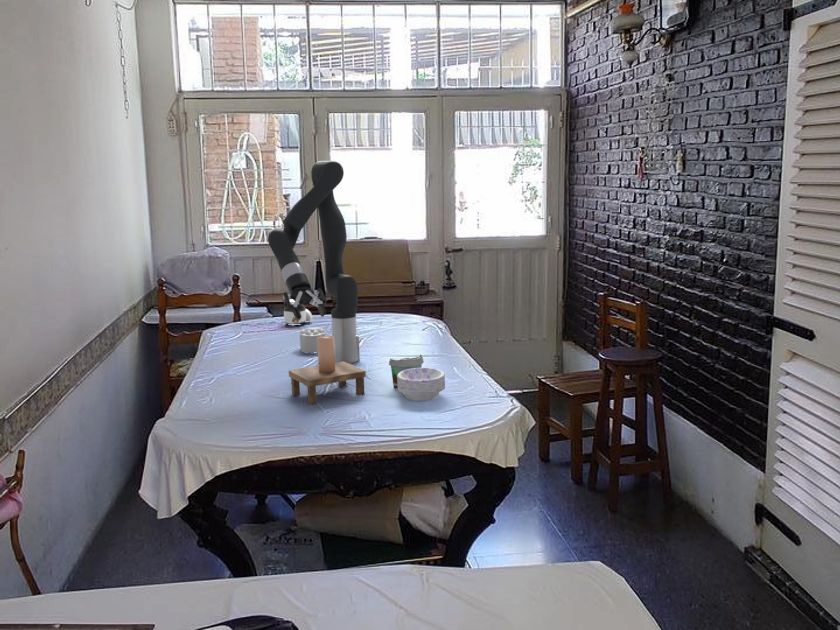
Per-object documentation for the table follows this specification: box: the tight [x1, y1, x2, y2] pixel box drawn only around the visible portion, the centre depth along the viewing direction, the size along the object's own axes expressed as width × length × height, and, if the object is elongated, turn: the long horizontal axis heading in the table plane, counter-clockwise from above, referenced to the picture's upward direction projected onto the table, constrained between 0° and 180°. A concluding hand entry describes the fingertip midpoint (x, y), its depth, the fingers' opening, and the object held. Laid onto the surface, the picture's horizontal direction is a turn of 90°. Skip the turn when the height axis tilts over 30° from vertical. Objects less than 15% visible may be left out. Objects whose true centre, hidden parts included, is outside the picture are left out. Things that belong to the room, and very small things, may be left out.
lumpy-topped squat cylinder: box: [299, 326, 327, 354], centre depth 328 cm, size 10×13×9 cm
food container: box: [388, 354, 425, 390], centre depth 270 cm, size 12×6×10 cm, turn 117°
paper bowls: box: [397, 367, 446, 402], centre depth 259 cm, size 15×15×8 cm
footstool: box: [288, 361, 367, 406], centre depth 264 cm, size 20×16×8 cm
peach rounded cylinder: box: [317, 335, 335, 372], centre depth 263 cm, size 5×5×11 cm
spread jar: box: [283, 298, 313, 325], centre depth 382 cm, size 12×11×12 cm
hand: (311, 316), depth 269 cm, fingers open, 8 cm apart
